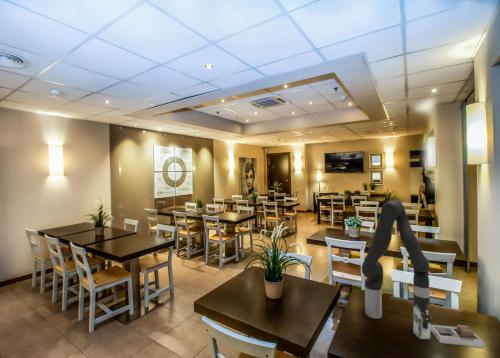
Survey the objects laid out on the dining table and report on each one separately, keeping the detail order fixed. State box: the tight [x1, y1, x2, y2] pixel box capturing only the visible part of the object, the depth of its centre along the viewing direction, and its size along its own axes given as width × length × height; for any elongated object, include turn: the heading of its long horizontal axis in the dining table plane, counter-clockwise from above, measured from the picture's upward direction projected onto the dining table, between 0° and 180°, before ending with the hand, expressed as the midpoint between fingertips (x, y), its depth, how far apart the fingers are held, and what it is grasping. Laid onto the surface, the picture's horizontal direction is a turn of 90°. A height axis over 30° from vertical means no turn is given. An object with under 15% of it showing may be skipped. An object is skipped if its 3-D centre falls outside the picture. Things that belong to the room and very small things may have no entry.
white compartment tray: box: [430, 324, 485, 349], centre depth 133 cm, size 11×19×3 cm, turn 77°
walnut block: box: [456, 324, 475, 339], centre depth 132 cm, size 5×5×6 cm
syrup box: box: [412, 306, 431, 340], centre depth 135 cm, size 6×6×14 cm
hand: (421, 323), depth 135 cm, fingers open, 8 cm apart
